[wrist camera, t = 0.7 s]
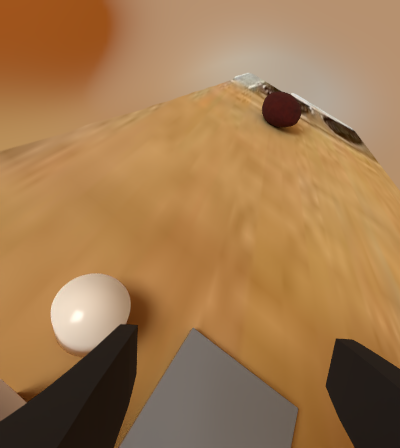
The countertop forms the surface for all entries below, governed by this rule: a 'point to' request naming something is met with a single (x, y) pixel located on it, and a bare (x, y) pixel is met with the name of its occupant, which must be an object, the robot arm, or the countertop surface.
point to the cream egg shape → (88, 312)
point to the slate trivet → (211, 405)
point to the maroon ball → (281, 109)
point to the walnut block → (9, 400)
